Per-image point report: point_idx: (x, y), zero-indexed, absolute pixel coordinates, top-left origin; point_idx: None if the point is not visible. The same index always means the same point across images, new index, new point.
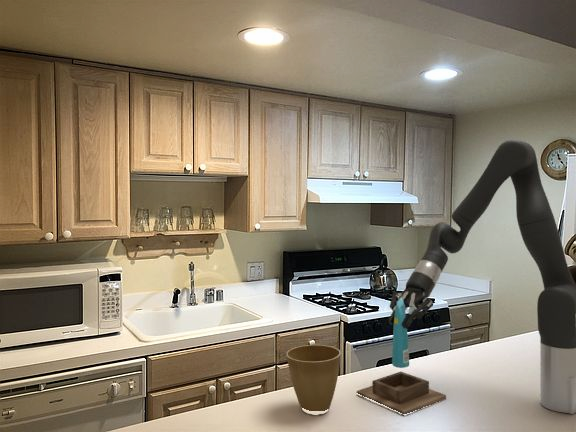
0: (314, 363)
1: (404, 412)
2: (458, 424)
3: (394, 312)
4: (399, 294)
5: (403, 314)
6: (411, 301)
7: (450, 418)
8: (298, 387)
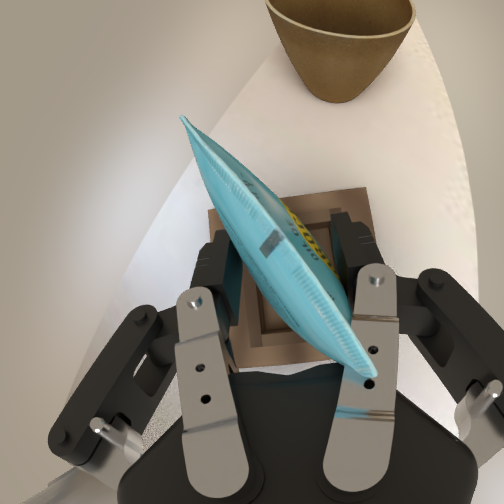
0: None
1: (208, 210)
2: (131, 284)
3: (352, 256)
4: (490, 436)
5: (255, 272)
6: (210, 379)
7: (154, 292)
8: (318, 13)
